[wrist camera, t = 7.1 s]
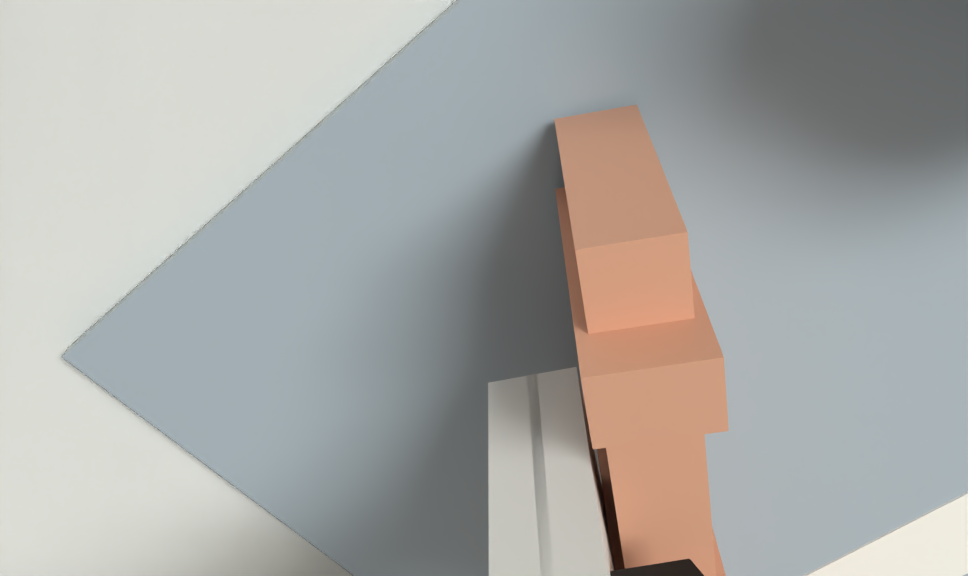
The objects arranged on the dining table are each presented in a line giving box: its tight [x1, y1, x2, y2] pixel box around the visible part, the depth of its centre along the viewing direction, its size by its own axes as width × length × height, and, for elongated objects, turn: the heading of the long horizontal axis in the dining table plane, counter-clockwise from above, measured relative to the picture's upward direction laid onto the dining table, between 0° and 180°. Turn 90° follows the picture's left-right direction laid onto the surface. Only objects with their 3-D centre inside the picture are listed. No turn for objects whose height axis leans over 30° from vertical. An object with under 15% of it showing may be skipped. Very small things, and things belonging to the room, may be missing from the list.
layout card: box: [62, 0, 968, 576], centre depth 18 cm, size 28×17×1 cm, turn 41°
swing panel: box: [554, 105, 729, 576], centre depth 14 cm, size 12×2×5 cm, turn 11°
